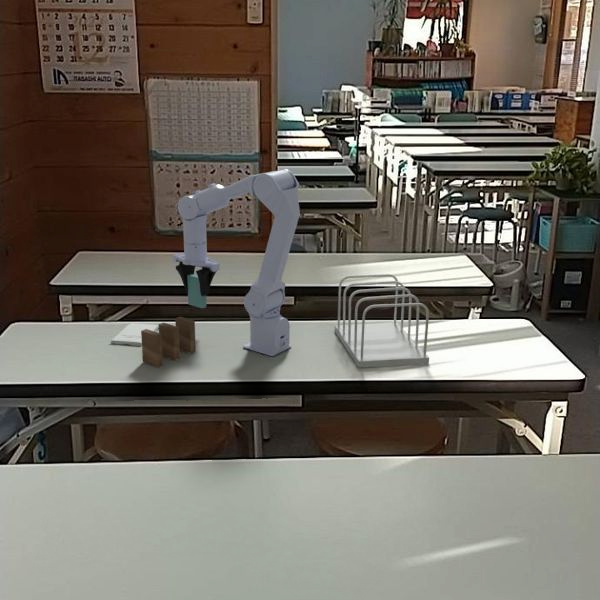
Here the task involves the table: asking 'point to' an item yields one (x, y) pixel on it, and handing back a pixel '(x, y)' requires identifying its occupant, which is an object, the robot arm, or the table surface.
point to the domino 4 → (195, 292)
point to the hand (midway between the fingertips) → (196, 293)
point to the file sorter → (381, 330)
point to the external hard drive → (133, 334)
